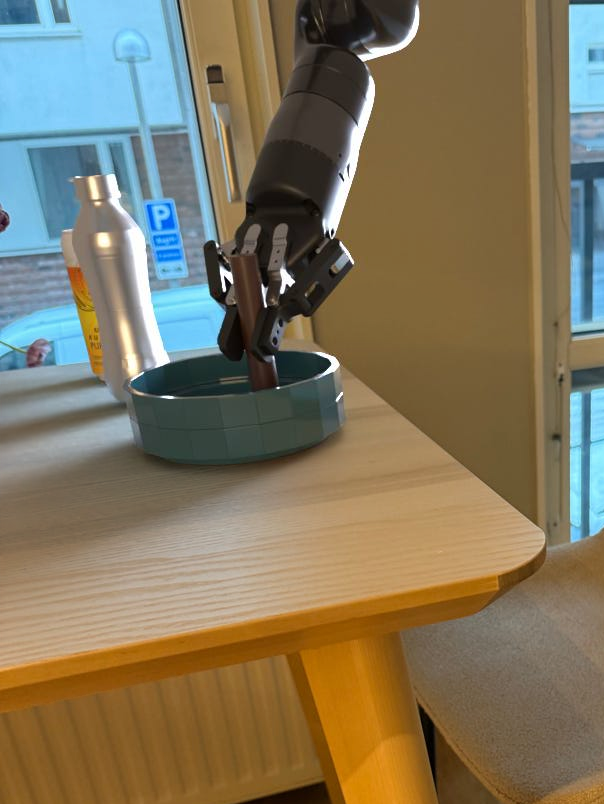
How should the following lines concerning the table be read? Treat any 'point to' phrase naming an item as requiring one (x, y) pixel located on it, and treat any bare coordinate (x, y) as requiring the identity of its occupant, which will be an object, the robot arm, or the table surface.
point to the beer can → (83, 305)
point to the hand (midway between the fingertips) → (244, 355)
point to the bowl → (234, 408)
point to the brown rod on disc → (251, 315)
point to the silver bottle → (116, 281)
